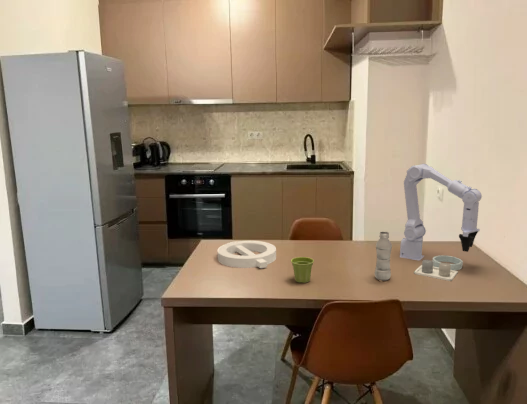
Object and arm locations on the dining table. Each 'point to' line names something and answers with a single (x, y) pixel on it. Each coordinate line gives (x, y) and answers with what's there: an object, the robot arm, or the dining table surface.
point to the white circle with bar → (247, 254)
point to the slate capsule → (427, 266)
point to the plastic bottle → (383, 257)
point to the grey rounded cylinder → (444, 269)
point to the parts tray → (436, 273)
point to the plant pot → (302, 268)
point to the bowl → (441, 258)
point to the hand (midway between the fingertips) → (467, 248)
